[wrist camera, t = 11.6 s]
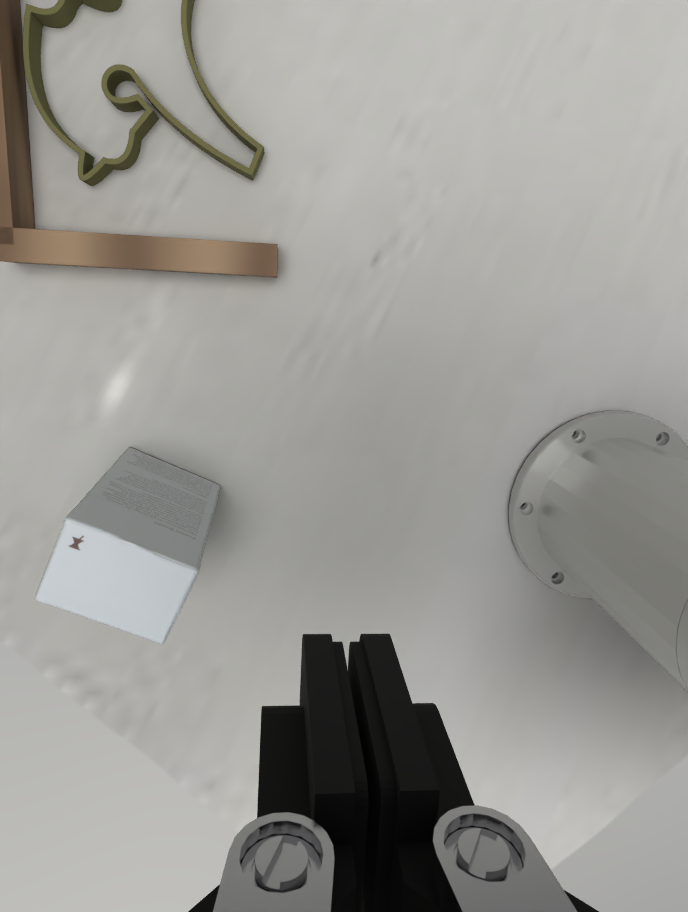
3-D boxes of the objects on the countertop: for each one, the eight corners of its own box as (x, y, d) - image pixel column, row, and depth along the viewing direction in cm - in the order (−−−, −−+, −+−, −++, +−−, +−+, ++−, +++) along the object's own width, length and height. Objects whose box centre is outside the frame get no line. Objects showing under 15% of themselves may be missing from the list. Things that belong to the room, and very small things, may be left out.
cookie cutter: (256, 218, 35) (254, 214, 33) (31, 174, 34) (16, 167, 32) (307, -163, 31) (308, -193, 29) (53, -234, 29) (37, -271, 28)
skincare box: (102, 506, 38) (27, 600, 27) (129, 444, 37) (63, 513, 26) (196, 544, 39) (163, 649, 28) (224, 485, 39) (201, 567, 27)
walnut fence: (289, -217, 30) (289, -271, 27) (276, 277, 36) (276, 276, 33) (-35, -264, 29) (-70, -326, 26) (6, 262, 34) (-19, 259, 31)
